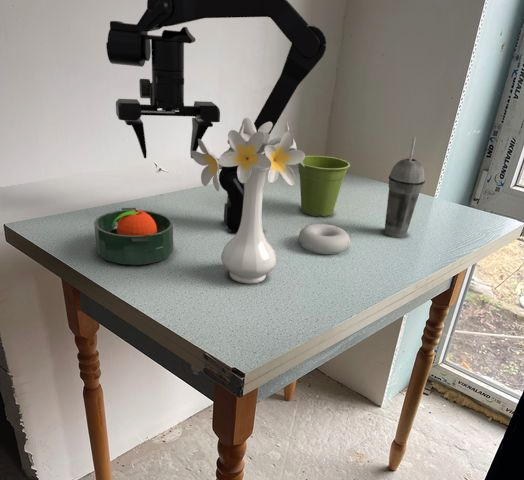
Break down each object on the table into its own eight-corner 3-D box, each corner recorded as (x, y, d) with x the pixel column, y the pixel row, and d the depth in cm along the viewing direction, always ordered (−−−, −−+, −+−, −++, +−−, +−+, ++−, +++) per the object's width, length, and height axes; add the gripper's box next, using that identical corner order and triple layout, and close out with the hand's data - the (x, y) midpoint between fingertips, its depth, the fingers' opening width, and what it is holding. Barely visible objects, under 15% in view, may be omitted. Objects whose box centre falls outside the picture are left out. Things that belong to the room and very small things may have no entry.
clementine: (119, 259, 96) (117, 219, 92) (107, 245, 101) (104, 206, 97) (163, 253, 100) (162, 214, 96) (149, 239, 105) (148, 202, 101)
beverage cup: (415, 232, 121) (437, 135, 111) (408, 242, 116) (431, 141, 105) (382, 225, 124) (401, 130, 113) (374, 234, 118) (393, 135, 107)
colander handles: (135, 211, 105) (135, 207, 105) (148, 244, 92) (148, 240, 92) (121, 211, 104) (121, 207, 104) (132, 245, 91) (132, 241, 91)
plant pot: (345, 208, 132) (353, 159, 126) (338, 224, 122) (346, 171, 116) (296, 200, 134) (301, 152, 128) (285, 215, 124) (291, 163, 118)
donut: (342, 261, 105) (352, 242, 113) (345, 244, 103) (355, 226, 111) (291, 251, 107) (305, 233, 115) (293, 234, 105) (307, 217, 113)
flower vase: (179, 279, 93) (179, 118, 79) (256, 253, 105) (267, 109, 91) (234, 308, 86) (244, 137, 72) (310, 277, 97) (330, 125, 84)
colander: (166, 236, 108) (165, 208, 105) (179, 265, 97) (179, 235, 95) (94, 239, 104) (91, 210, 101) (99, 269, 93) (97, 238, 91)
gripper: (208, 66, 110) (206, 148, 119) (110, 61, 105) (115, 147, 113) (222, 74, 101) (219, 162, 110) (116, 69, 96) (121, 162, 104)
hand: (168, 157), depth 109 cm, fingers open, 9 cm apart
